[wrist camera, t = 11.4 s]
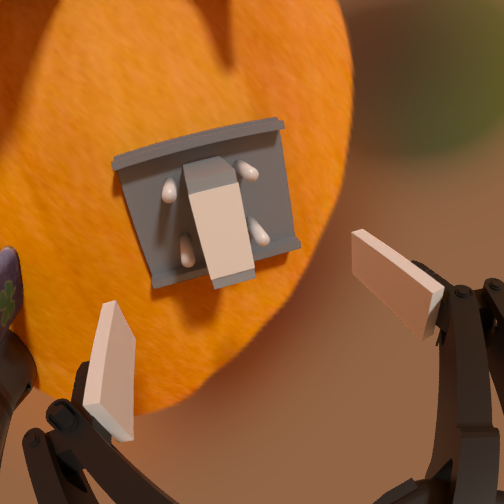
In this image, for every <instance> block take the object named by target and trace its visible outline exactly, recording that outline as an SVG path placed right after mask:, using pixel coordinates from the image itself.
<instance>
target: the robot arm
mask: <svg viewBox="0 0 504 504" xmlns="http://www.w3.org/2000/svg"><path fill="white" fill-rule="evenodd" d="M351 235H352V274H353V275H354V276H355V277H356V278H357V279H358V280H360V282H362V283H363V284H364V285H365V286H366V287H367V288H368V289H369V290H370V291H371V292H372V293H373V294H374V295H375V296H376V297H377V298H378V299H379V300H381V301H382V302H383V303H384V304H385V305H386V306H387V307H388V308H389V309H390V310H391V311H392V312H393V313H394V314H395V315H396V316H397V317H398V318H399V319H400V320H401V321H402V322H403V323H404V324H405V325H406V326H407V327H408V328H409V329H410V330H411V331H412V332H413V333H414V334H415V335H416V336H417V337H418V338H419V339H420V340H421V341H423V340H424V339H426V338H428V337H430V336H431V335H433V333H434V329H435V326H436V325H437V326H438V327H439V328H440V332H439V336H438V339H437V342H436V346H438V343H439V394H438V409H437V422H436V431H435V439H434V448H433V454H432V459H431V462H430V465H429V467H428V469H427V472H426V476H425V479H422V480H417V481H414V480H413V479H412V478H410V479H409V480H407V481H405V482H404V483H402V484H400V485H399V486H397V487H395V488H393V489H392V490H390V491H388V492H386V493H385V494H384V495H383V496H382V497H380V498H379V499H378V500H377V501H375V502H374V503H373V504H504V491H500V490H497V484H498V473H499V453H500V452H499V451H500V434H499V430H498V428H494V427H493V425H492V407H491V406H492V405H491V389H490V378H489V371H490V374H491V377H492V380H493V382H494V385H495V388H496V391H497V394H498V397H499V401H500V404H501V407H502V411H503V414H504V283H503V282H502V281H501V280H499V279H496V278H489V279H486V280H485V282H484V286H483V288H482V289H478V290H472V289H471V288H469V287H467V286H465V285H456V286H453V285H451V284H450V283H449V282H447V281H446V280H445V279H443V278H441V277H440V276H439V275H438V274H435V272H434V271H432V270H430V269H429V268H428V267H427V266H425V265H424V264H422V263H420V262H417V261H414V260H413V261H408V260H407V259H406V258H404V257H403V256H402V255H400V254H399V253H397V252H395V251H394V250H393V249H391V248H390V247H389V246H387V245H386V244H384V243H383V242H381V241H380V240H378V239H377V238H375V237H374V236H372V235H371V234H369V233H368V232H366V231H365V230H363V229H361V230H357V231H354V232H351ZM496 320H497V323H496ZM135 343H136V339H135V337H134V335H133V333H132V331H131V329H130V327H129V325H128V324H127V322H126V320H125V318H124V316H123V314H122V312H121V310H120V308H119V306H118V304H117V301H116V300H114V301H111V302H107V303H104V304H103V306H102V310H101V314H100V318H99V322H98V326H97V331H96V335H95V339H94V344H93V349H92V354H91V359H90V361H87V362H82V364H81V365H80V367H79V368H78V370H77V373H76V378H75V382H74V389H73V393H72V398H71V402H70V401H69V400H67V399H63V398H62V399H58V400H56V401H54V402H53V403H52V404H51V405H50V406H49V407H48V409H47V411H46V419H47V422H48V423H49V424H50V425H51V426H52V427H53V428H54V430H52V431H50V432H47V433H44V432H43V431H42V430H41V429H39V428H33V429H30V430H29V431H28V432H26V434H25V435H24V437H23V441H22V446H23V450H24V455H25V459H26V464H27V467H28V471H29V475H30V478H31V482H32V485H33V488H34V492H35V495H36V498H37V501H38V504H99V503H98V501H97V499H96V497H95V495H94V493H93V491H92V489H91V487H90V485H89V483H88V481H87V479H86V477H85V474H84V472H83V470H82V469H86V470H87V471H88V472H89V473H90V475H91V476H92V477H93V478H94V480H95V481H96V482H97V483H98V484H99V485H100V486H101V488H102V489H103V490H104V491H105V492H106V493H107V494H108V495H109V497H110V498H111V499H112V500H113V501H114V502H115V503H116V504H179V503H178V502H176V501H175V500H174V499H173V498H171V497H170V496H169V495H167V494H166V493H165V492H164V491H162V490H161V489H160V488H159V487H158V486H156V485H155V484H154V483H153V482H152V481H151V480H149V479H148V478H147V477H146V476H145V475H144V474H143V473H141V472H140V471H139V470H138V469H137V468H136V467H135V466H134V465H133V464H132V463H131V462H130V461H128V459H126V458H125V457H124V456H123V455H122V454H121V453H120V452H119V451H118V450H117V449H116V448H115V447H114V446H113V445H112V444H111V436H112V437H113V438H114V439H115V440H116V441H118V442H123V441H131V440H134V418H133V399H134V362H135ZM35 378H36V366H35V363H34V360H33V358H32V356H31V354H30V352H29V351H28V349H27V348H26V346H25V345H24V344H23V343H22V341H21V340H20V339H19V338H18V337H17V336H16V335H15V334H14V333H13V332H12V331H11V330H9V329H8V330H7V331H6V333H5V335H4V337H3V339H2V340H1V342H0V467H1V461H2V456H3V451H4V446H5V442H6V437H7V433H8V429H9V425H10V421H11V417H12V414H13V412H14V410H15V409H16V408H17V407H18V405H19V404H20V403H21V402H22V401H23V400H24V398H25V397H26V396H27V395H28V394H29V393H30V391H31V390H32V387H33V385H34V381H35Z"/></svg>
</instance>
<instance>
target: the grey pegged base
mask: <svg viewBox="0 0 504 504" xmlns="http://www.w3.org/2000/svg"><path fill="white" fill-rule="evenodd" d="M280 129H285V127H284V121H283V120H278V118H277V117H272V118H266V119H260V120H255V121H249V122H244V123H239V124H234V125H229V126H224V127H219V128H215V129H210V130H206V131H202V132H197V133H193V134H189V135H185V136H181V137H178V138H174V139H170V140H166V141H163V142H159V143H156V144H152V145H149V146H146V147H142V148H139V149H136V150H133V151H129V152H126V153H123V154H120V155H117V156H115V157H114V161H113V162H111V165H112V168H113V171H115V170H117V172H118V175H119V179H120V182H121V186H122V189H123V192H124V195H125V199H126V202H127V205H128V208H129V211H130V214H131V217H132V221H133V224H134V227H135V229H136V232H137V235H138V238H139V241H140V244H141V247H142V250H143V252H144V255H145V258H146V260H147V263H148V266H149V269H150V271H151V274H152V281H151V283H152V286H153V288H154V289H156V288H160V287H164V286H167V285H171V284H174V283H178V282H182V281H185V280H189V279H193V278H196V277H200V276H204V275H207V274H209V271H208V267H207V264H206V260H205V257H204V253H203V249H202V246H201V242H200V238H199V235H198V231H197V227H196V223H195V219H194V216H193V212H192V208H191V204H190V200H189V196H188V189H187V185H186V180H185V175H184V169H183V164H186V163H190V162H194V161H198V160H202V159H206V158H210V157H215V156H220V157H221V158H222V159H224V160H225V161H226V162H227V163H228V164H229V165H231V166H232V167H233V168H234V169H235V172H236V178H237V182H238V183H239V188H240V193H241V198H242V203H243V209H244V214H245V219H246V224H247V229H248V234H249V239H250V245H251V250H252V255H253V260H254V261H257V260H261V259H264V258H268V257H271V256H275V255H278V254H282V253H286V252H289V251H293V250H296V249H300V248H301V243H300V241H299V240H298V238H297V237H296V236H295V233H294V225H293V218H292V210H291V203H290V196H289V189H288V182H287V175H286V168H285V162H284V155H283V149H282V142H281V136H280Z"/></svg>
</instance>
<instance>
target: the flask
mask: <svg viewBox="0 0 504 504" xmlns="http://www.w3.org/2000/svg"><path fill="white" fill-rule="evenodd" d="M11 248H12V249H11ZM11 248H10V247H9V246H6V247H5V248H3V249H2V250H1V251H0V342H1V340H2V339H3V337H4V335H5V333H6V331H7V330H8V328H9V326H10V325H11V323H12V322H13V320H14V318H15V316H16V315H17V313H18V312H19V311H20V309H21V307H22V304H23V284H22V276H21V267H20V260H19V257H18V254H17V252H16V250H15V249H14V248H13V247H11Z"/></svg>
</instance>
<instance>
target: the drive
mask: <svg viewBox="0 0 504 504" xmlns="http://www.w3.org/2000/svg"><path fill="white" fill-rule="evenodd" d="M183 169H184V175H185V180H186V185H187V189H188V196H189V200H190V204H191V208H192V212H193V216H194V219H195V223H196V227H197V231H198V235H199V238H200V242H201V246H202V249H203V253H204V257H205V260H206V264H207V267H208V271H209V274H210V278H211V280H212V283H213V286H214V289H218V288H222V287H225V286H229V285H233V284H236V283H240V282H243V281H247V280H250V279H254V278H256V275H255V269H254V268H255V265H254V260H253V255H252V250H251V245H250V239H249V234H248V229H247V224H246V219H245V214H244V209H243V203H242V198H241V193H240V188H239V183H238V182H237V178H236V172H235V169H234V168H233V167H232V166H231V165H229V164H228V163H227V162H226V161H225V160H224V159H222V158H221V157H220V156H215V157H210V158H206V159H202V160H198V161H194V162H190V163H186V164H183Z"/></svg>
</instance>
